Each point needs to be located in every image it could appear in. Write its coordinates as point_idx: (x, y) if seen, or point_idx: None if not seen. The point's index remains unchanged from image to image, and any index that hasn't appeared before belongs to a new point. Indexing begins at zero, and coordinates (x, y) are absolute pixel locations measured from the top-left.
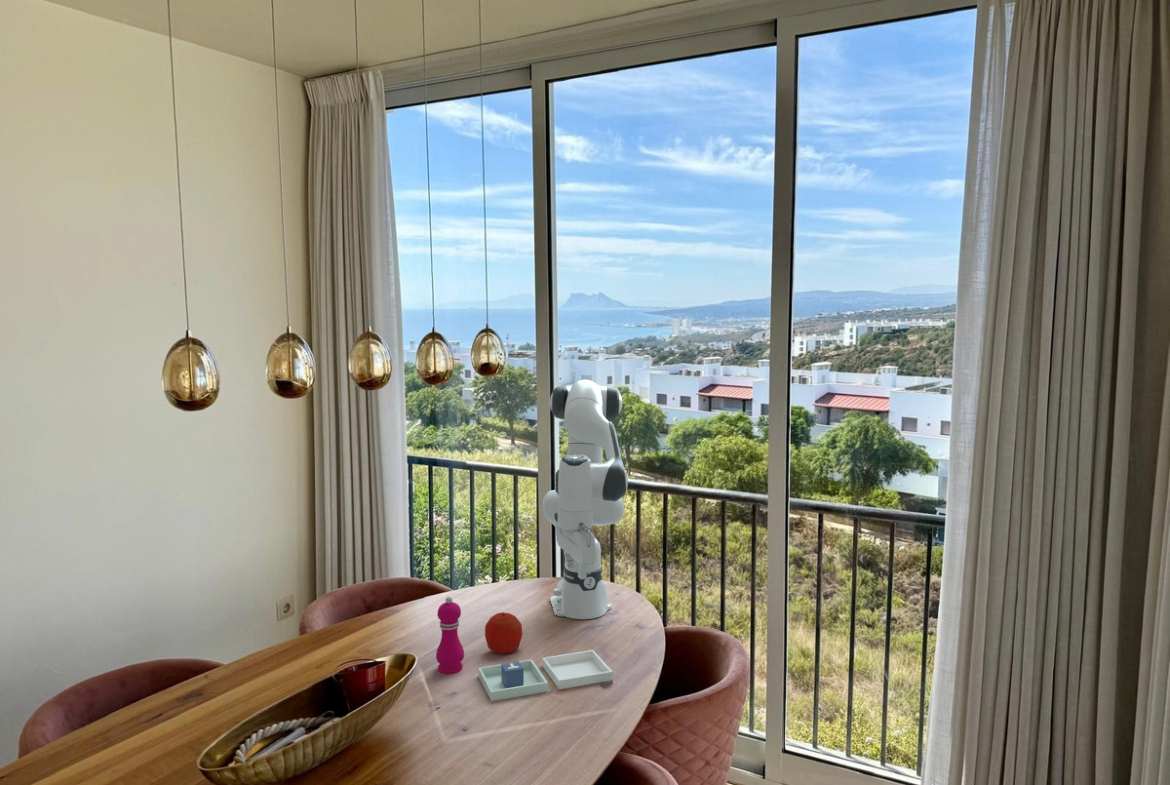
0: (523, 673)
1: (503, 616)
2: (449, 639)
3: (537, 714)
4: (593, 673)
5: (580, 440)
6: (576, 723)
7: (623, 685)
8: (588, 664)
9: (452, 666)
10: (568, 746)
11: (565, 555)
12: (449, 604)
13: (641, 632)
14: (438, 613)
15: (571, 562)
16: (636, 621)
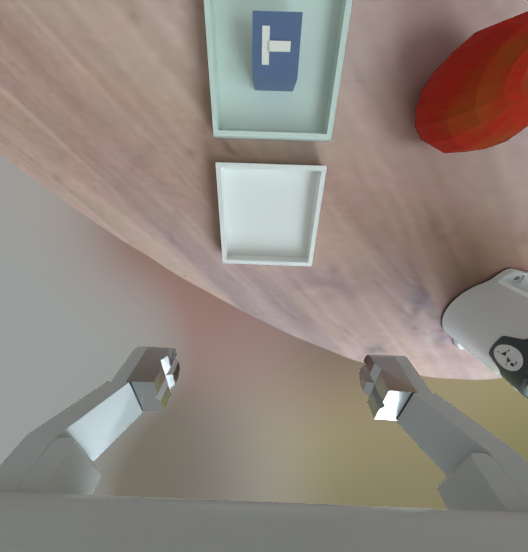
0: (253, 81)
1: (525, 70)
2: None
3: (145, 84)
4: (256, 240)
5: None
6: (107, 150)
7: (215, 265)
8: (289, 245)
9: None
10: (27, 104)
11: (465, 434)
12: None
13: (356, 344)
14: None
15: (376, 401)
16: (391, 352)
